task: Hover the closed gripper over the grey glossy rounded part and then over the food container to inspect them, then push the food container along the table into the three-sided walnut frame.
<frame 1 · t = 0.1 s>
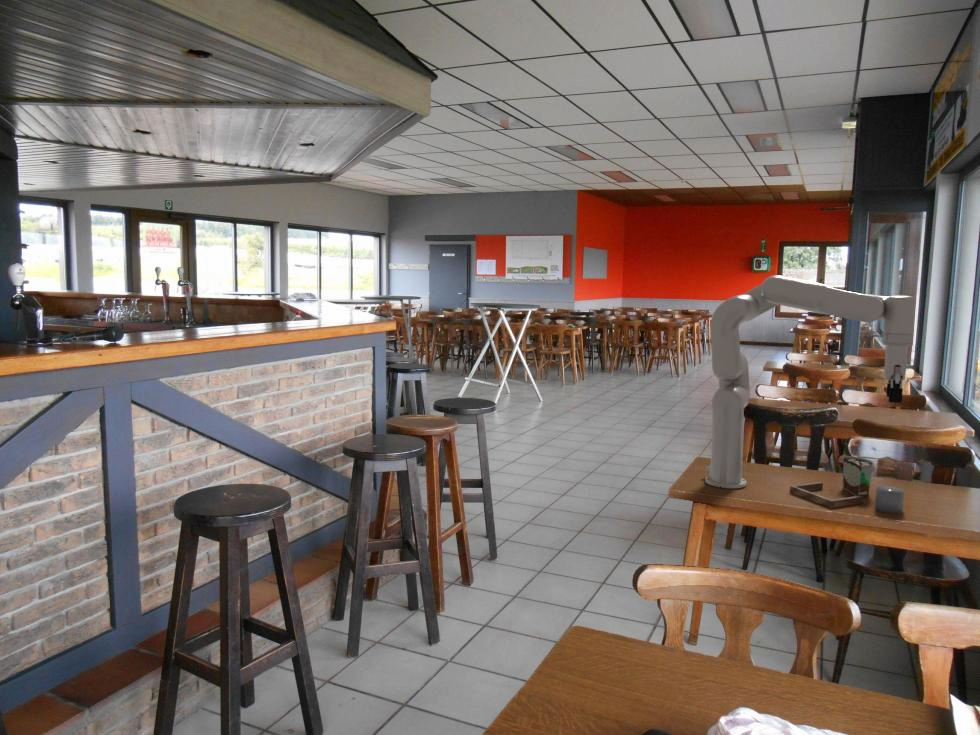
hand: (893, 399, 207), 31 cm above the table, tool pointing down, fingers open, 9 cm apart
frame: (830, 496, 218), on the table
grey glossy rounded part: (888, 509, 207), on the table
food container: (860, 493, 223), on the table
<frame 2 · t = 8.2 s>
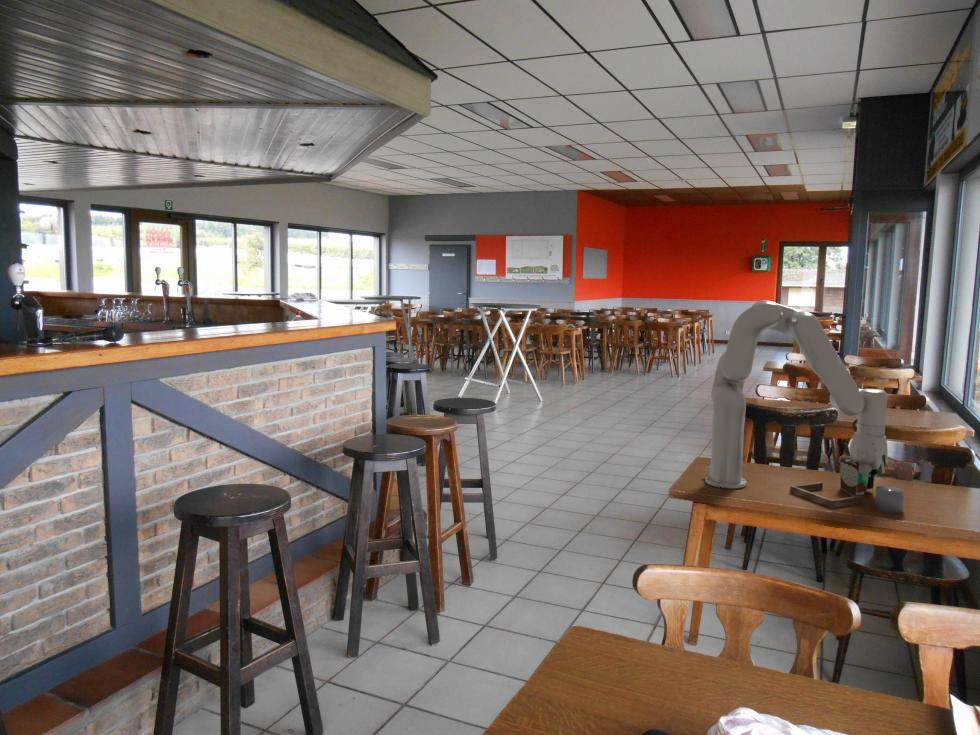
hand: (867, 488, 223), 1 cm above the table, tool pointing down, fingers closed
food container: (857, 493, 222), on the table, touching gripper
everything else where it was.
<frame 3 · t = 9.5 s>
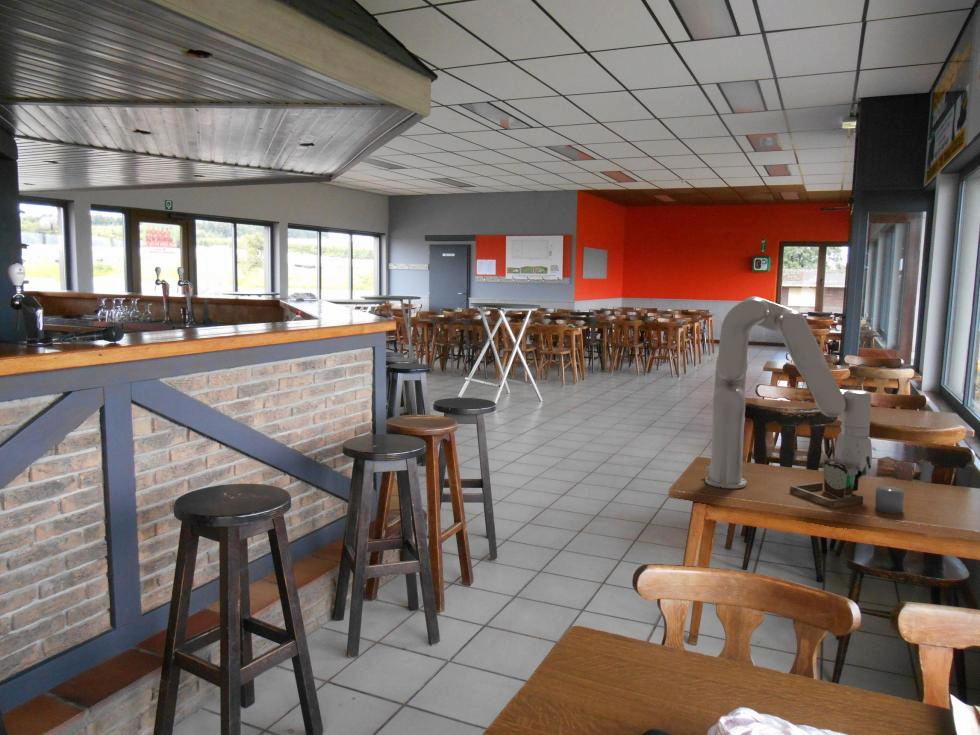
hand: (851, 490, 221), 1 cm above the table, tool pointing down, fingers closed
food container: (842, 496, 220), on the table, touching gripper
everything else where it was.
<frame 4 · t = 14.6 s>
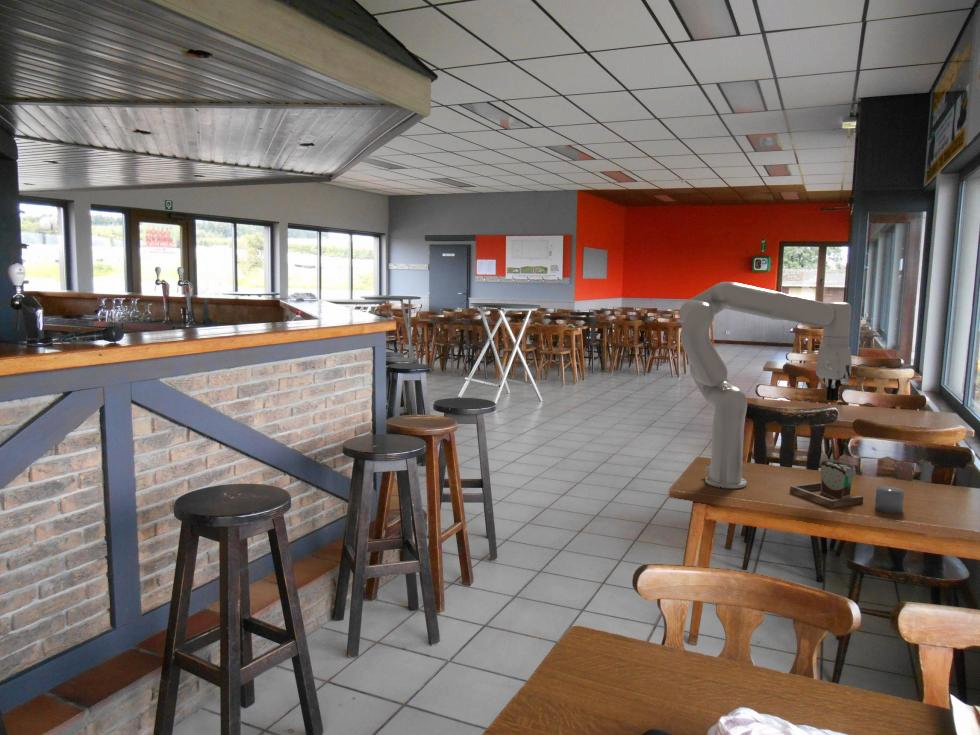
hand: (832, 400, 229), 27 cm above the table, tool pointing down, fingers closed
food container: (840, 496, 219), on the table
everything else where it was.
at the end: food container inside the target area on the frame (4.3 cm from its centre), point 0.0 cm above the frame's base; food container tilted 0°; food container moved 8.5 cm from its start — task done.
